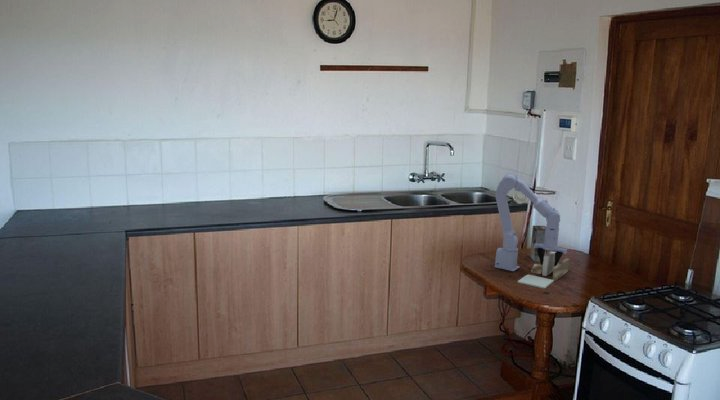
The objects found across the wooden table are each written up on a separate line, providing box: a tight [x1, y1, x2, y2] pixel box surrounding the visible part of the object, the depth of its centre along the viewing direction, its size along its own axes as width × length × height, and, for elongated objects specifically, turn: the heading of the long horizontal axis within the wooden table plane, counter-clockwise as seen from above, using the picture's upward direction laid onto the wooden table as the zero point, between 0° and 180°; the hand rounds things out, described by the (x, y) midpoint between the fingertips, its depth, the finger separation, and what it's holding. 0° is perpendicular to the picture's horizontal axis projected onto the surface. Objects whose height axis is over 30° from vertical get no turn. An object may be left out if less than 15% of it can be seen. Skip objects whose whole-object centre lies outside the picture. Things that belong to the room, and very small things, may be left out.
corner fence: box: [536, 257, 570, 282], centre depth 277 cm, size 14×19×6 cm
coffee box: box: [529, 225, 549, 263], centre depth 296 cm, size 9×6×16 cm
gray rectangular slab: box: [541, 251, 556, 277], centre depth 276 cm, size 2×10×9 cm, turn 144°
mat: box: [517, 274, 555, 289], centre depth 264 cm, size 12×12×1 cm
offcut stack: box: [530, 263, 543, 275], centre depth 279 cm, size 5×8×2 cm, turn 150°
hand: (548, 265), depth 276 cm, fingers open, 6 cm apart
